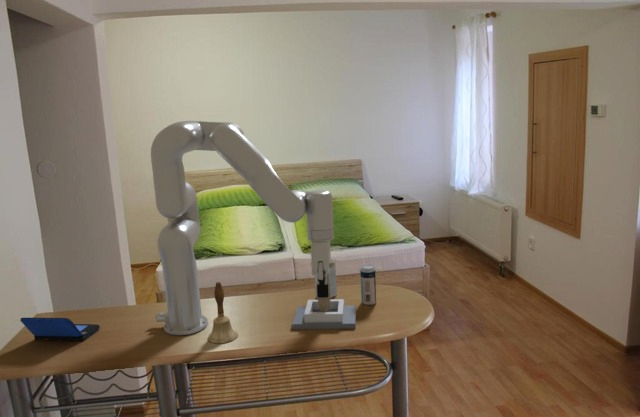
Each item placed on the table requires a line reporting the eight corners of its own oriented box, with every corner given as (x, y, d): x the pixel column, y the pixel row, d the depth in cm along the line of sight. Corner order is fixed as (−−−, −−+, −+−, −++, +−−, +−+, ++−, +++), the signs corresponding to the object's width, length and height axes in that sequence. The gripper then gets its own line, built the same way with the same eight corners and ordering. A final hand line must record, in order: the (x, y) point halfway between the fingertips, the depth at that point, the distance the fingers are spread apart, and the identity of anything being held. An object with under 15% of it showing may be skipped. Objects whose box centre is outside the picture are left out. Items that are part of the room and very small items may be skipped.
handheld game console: (102, 328, 153) (97, 299, 151) (74, 350, 140) (69, 318, 139) (55, 327, 156) (50, 299, 154) (23, 348, 143) (18, 317, 141)
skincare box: (328, 292, 173) (326, 258, 170) (337, 295, 169) (335, 261, 167) (315, 297, 169) (313, 263, 166) (323, 300, 166) (322, 265, 163)
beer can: (379, 303, 161) (378, 266, 159) (367, 307, 159) (366, 270, 156) (369, 298, 165) (368, 263, 163) (358, 302, 163) (356, 266, 160)
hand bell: (206, 333, 146) (201, 280, 143) (235, 328, 148) (230, 276, 145) (209, 346, 138) (204, 290, 135) (240, 340, 141) (235, 285, 137)
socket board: (292, 329, 146) (291, 316, 145) (297, 310, 159) (297, 298, 158) (355, 328, 144) (354, 315, 143) (356, 310, 157) (355, 297, 156)
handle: (335, 313, 148) (333, 263, 145) (313, 314, 149) (310, 264, 146) (335, 306, 153) (333, 258, 150) (314, 307, 153) (311, 259, 150)
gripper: (310, 226, 155) (313, 284, 158) (304, 241, 138) (308, 305, 142) (335, 226, 154) (337, 284, 158) (332, 241, 138) (334, 305, 141)
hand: (323, 293), depth 150 cm, fingers closed on handle, 3 cm apart
